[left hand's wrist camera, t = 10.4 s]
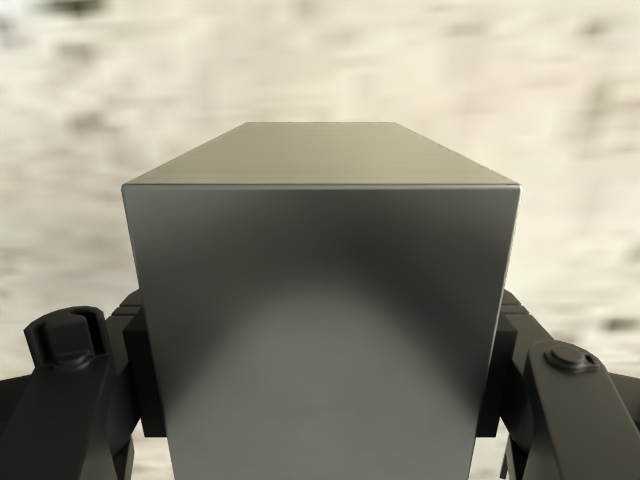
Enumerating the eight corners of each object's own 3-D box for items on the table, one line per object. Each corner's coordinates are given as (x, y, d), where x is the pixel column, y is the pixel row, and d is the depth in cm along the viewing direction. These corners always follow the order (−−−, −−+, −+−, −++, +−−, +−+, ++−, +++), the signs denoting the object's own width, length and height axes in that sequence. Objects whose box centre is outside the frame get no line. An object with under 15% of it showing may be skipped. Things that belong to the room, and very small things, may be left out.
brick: (245, 121, 16) (117, 184, 6) (396, 122, 16) (526, 184, 6) (257, 307, 19) (187, 556, 9) (383, 307, 19) (455, 555, 9)
